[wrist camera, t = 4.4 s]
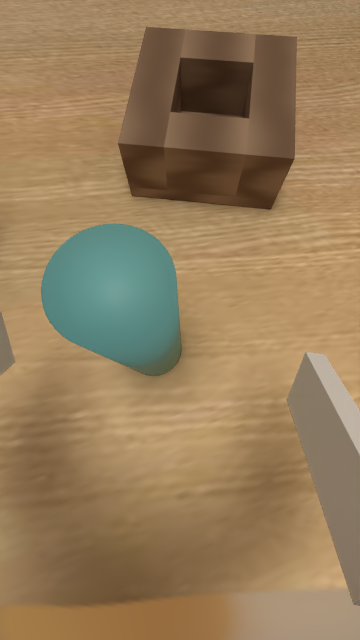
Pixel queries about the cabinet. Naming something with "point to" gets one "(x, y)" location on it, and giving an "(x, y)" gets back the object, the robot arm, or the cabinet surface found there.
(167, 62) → the socket block
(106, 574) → the cabinet surface
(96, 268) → the peg
